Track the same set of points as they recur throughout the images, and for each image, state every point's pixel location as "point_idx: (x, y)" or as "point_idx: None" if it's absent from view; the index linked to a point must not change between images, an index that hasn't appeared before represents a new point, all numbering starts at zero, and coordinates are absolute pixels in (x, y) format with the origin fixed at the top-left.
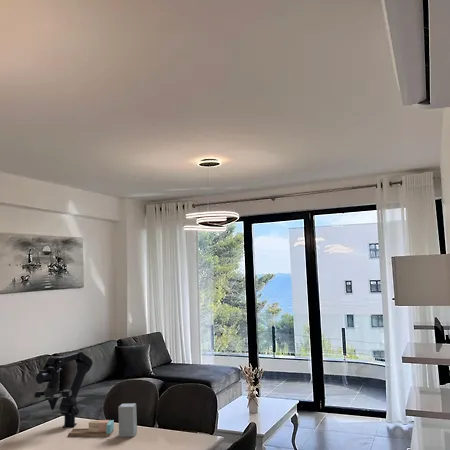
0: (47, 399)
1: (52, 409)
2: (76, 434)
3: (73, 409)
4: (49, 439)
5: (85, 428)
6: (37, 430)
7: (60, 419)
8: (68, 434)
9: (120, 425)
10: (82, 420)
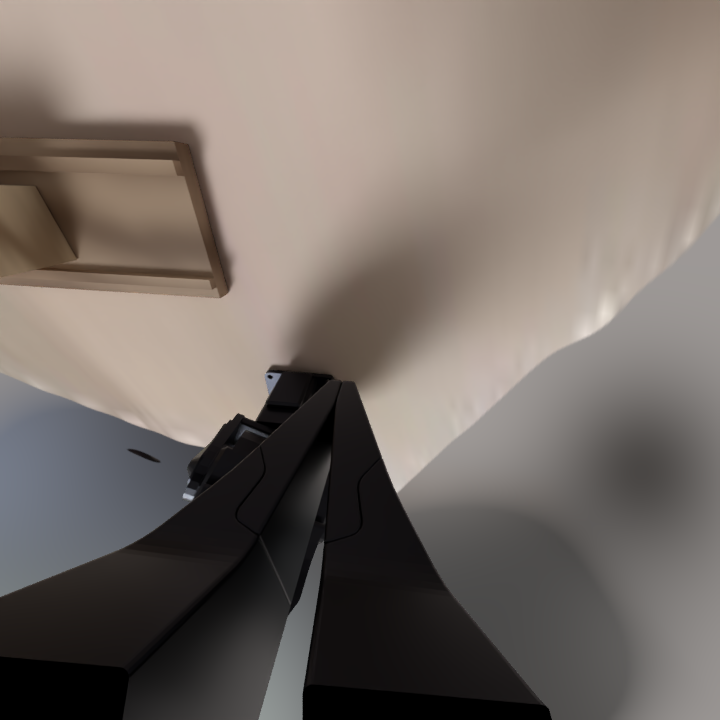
0: (486, 657)
1: (338, 382)
2: (101, 140)
3: (200, 455)
4: (329, 63)
5: (121, 283)
6: (480, 351)
7: None
8: (173, 145)
9: None
10: None
